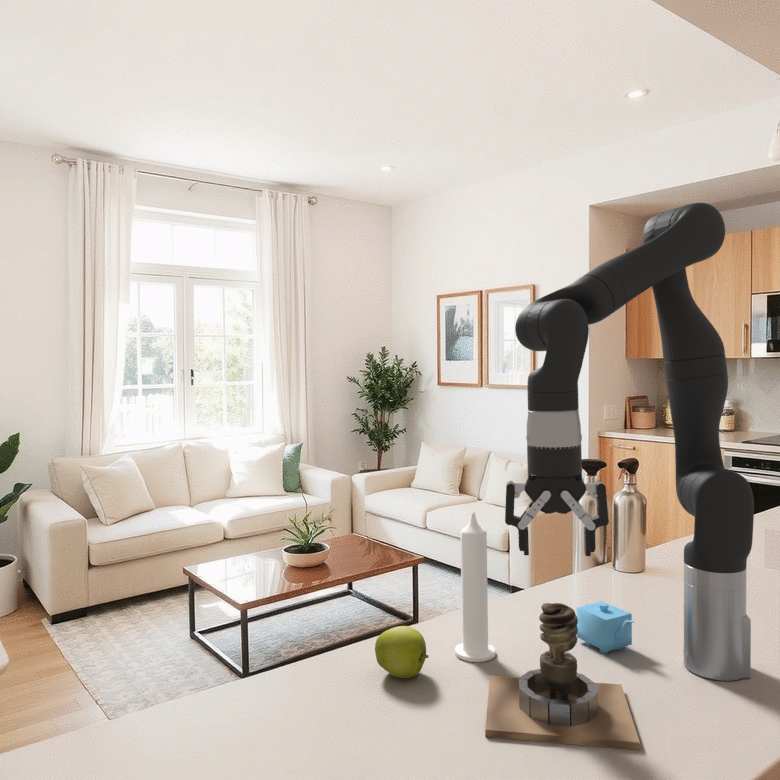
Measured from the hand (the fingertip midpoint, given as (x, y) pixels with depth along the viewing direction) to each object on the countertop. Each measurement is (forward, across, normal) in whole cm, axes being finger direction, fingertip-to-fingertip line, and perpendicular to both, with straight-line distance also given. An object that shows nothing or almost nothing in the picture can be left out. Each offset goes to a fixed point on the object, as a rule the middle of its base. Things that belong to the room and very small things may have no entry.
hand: (556, 554), depth 96 cm
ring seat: (+23, 0, 0) cm, 23 cm away
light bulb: (+22, 0, 0) cm, 22 cm away
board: (+23, 0, 0) cm, 23 cm away
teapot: (+24, -10, -24) cm, 35 cm away
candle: (+23, +13, -18) cm, 32 cm away
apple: (+23, +24, -8) cm, 35 cm away
